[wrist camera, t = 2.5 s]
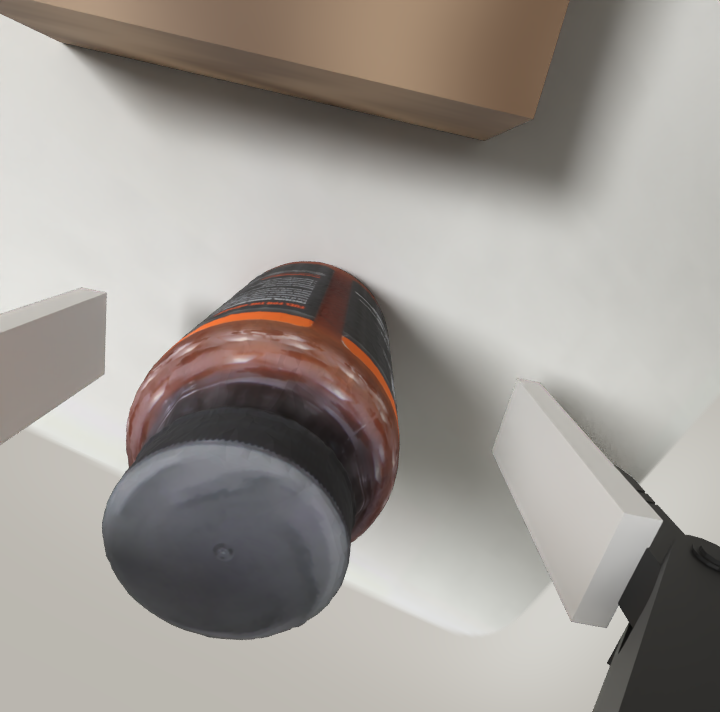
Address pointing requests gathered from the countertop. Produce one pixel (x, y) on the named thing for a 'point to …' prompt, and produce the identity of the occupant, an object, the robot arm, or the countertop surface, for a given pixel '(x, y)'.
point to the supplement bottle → (257, 457)
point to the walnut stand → (337, 50)
